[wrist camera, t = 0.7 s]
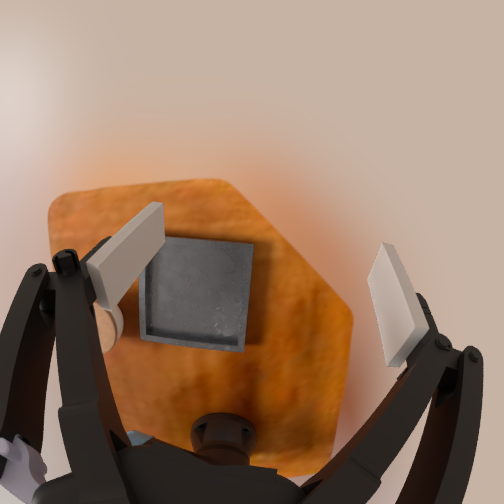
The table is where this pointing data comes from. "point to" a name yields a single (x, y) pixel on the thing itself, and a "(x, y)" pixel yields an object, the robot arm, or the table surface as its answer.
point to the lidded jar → (108, 326)
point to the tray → (197, 293)
